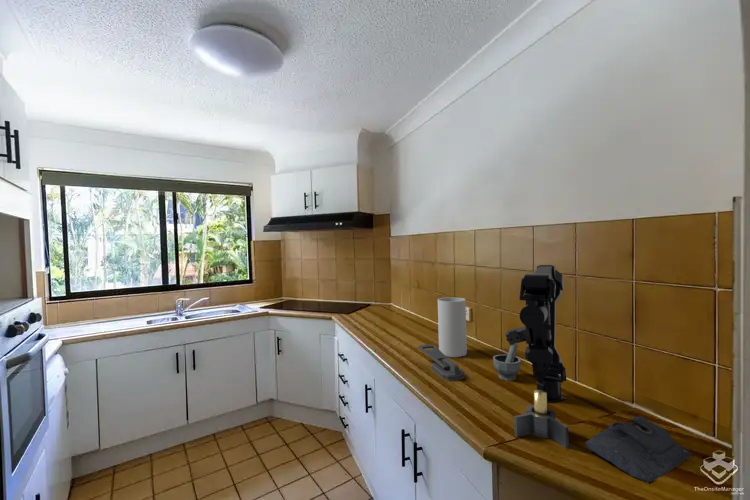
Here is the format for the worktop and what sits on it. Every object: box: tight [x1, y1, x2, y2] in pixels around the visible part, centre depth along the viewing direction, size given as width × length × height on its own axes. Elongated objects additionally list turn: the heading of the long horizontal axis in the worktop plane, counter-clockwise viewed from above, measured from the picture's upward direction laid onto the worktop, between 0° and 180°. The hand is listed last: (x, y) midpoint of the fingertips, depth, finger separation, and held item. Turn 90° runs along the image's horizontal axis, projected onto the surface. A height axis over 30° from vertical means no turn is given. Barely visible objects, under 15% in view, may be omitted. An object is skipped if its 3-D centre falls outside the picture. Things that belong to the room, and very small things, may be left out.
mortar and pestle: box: [492, 343, 522, 382], centre depth 120 cm, size 11×9×12 cm
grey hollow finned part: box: [513, 404, 570, 449], centre depth 82 cm, size 11×11×5 cm
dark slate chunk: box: [585, 415, 693, 484], centre depth 75 cm, size 15×22×5 cm
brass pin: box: [533, 389, 548, 416], centre depth 84 cm, size 3×3×10 cm
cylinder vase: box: [437, 296, 468, 358], centre depth 148 cm, size 12×12×25 cm
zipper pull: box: [417, 343, 465, 382], centre depth 130 cm, size 9×7×25 cm
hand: (540, 375), depth 89 cm, fingers open, 9 cm apart
